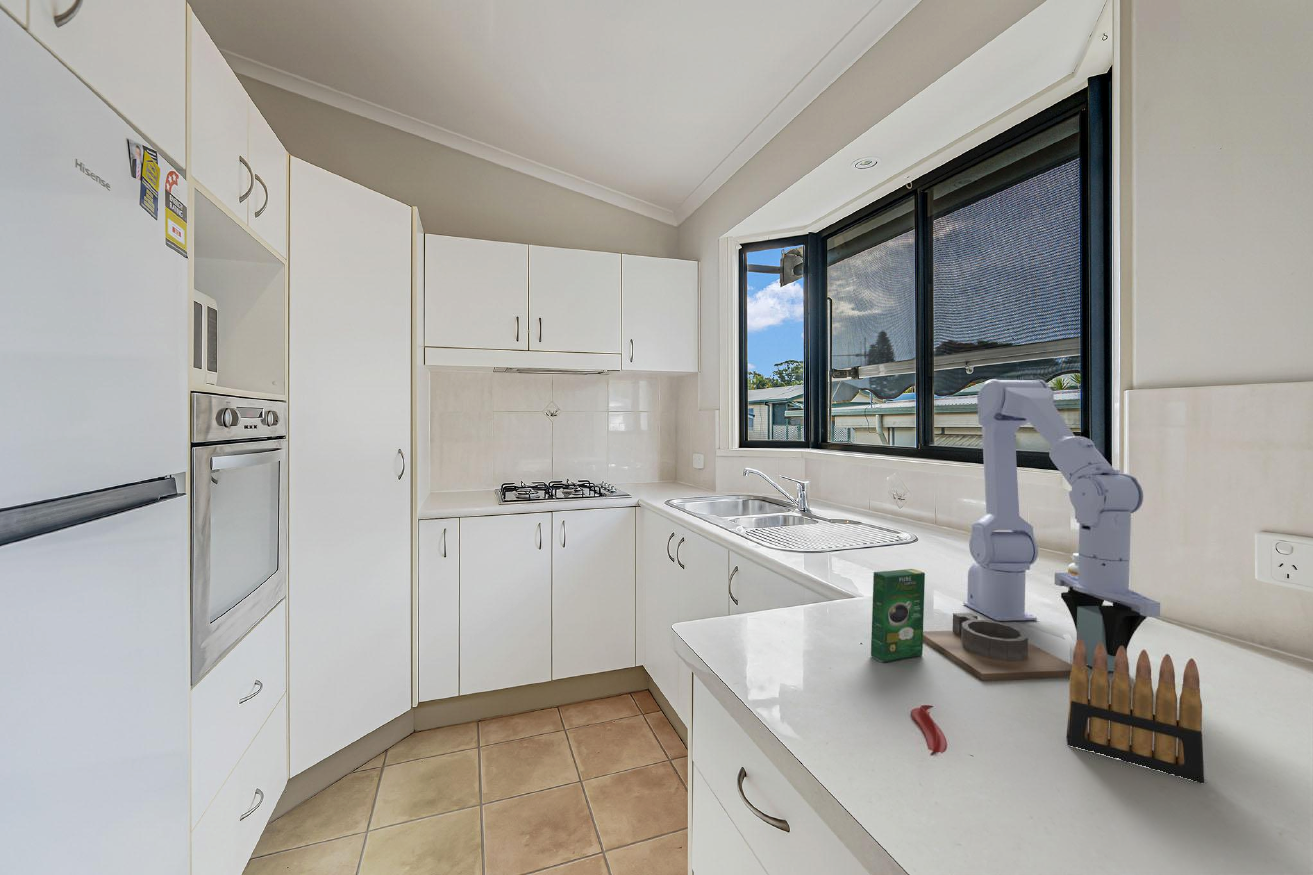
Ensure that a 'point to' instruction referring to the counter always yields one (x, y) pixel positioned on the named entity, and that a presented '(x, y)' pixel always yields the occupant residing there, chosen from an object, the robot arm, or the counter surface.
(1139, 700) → the ammunition clip
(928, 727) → the cayenne pepper
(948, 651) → the cup bracket
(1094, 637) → the blue-gray rectangular block
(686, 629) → the counter surface
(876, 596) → the coffee box
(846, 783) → the counter surface
